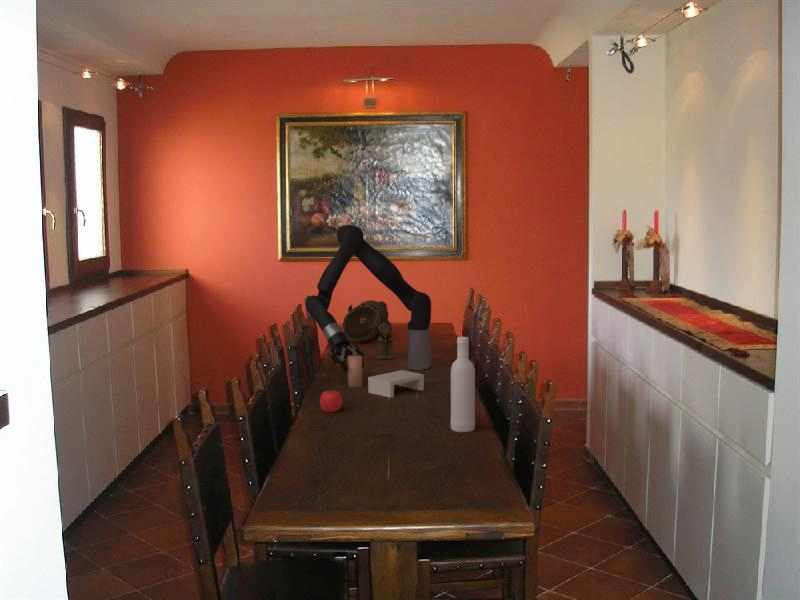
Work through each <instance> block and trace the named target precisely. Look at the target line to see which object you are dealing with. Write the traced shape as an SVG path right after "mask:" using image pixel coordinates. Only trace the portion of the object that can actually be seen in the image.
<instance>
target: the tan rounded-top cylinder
mask: <svg viewBox="0 0 800 600" xmlns="http://www.w3.org/2000/svg"><path fill="white" fill-rule="evenodd" d="M362 361H363V357H362V356H361V355H360V354H359V355H353V354H352V355H349V356H348V358H347V367H348V370H347V386H349V387H348V388H351V387H355V388H354V389H357V388H356V387H359V388H363V368H362Z"/></svg>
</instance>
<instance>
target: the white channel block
mask: <svg viewBox="0 0 800 600" xmlns="http://www.w3.org/2000/svg"><path fill="white" fill-rule="evenodd" d="M424 379H425V374H422V373H418V372H413V371H408V370H403V369H402V370H401V369H400V370H395V371H391V372H387V373H381V374H377V375H372V376H368V381H367V382H368V386H367V387H368V393H369V394H372V395H373V394H374V395H377V396H381V395H382V397H385V396H386V397H385V398H390V397H391V398H394V397H395V394H394V393H395V392H394V391H395V385H398V386H399V387H402V386H403V388H407V387H408V388H407V389H411V388H412V390H416V389H417V390H416V391H420V390H421V391H424V389H425V385H424V384H425V380H424Z"/></svg>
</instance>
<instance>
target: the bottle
mask: <svg viewBox="0 0 800 600" xmlns="http://www.w3.org/2000/svg"><path fill="white" fill-rule="evenodd" d="M456 344H457V347H456V348H457V353H456V355H457V356H456V357H457V358H456V360H455V361H454V362H453V363H452V364H451V368H450V430H451V431H453V432H458V433H470V432H473V431H474V430H475V429H476V427H475V426H476V418H475V417H476V416H475V414H476V369H475V366H474V363H473V362H472V361H471V359H469V357H470V355H469V348H470V346H469V344H470V341H469V337H468V336H458V337H457V340H456Z"/></svg>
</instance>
